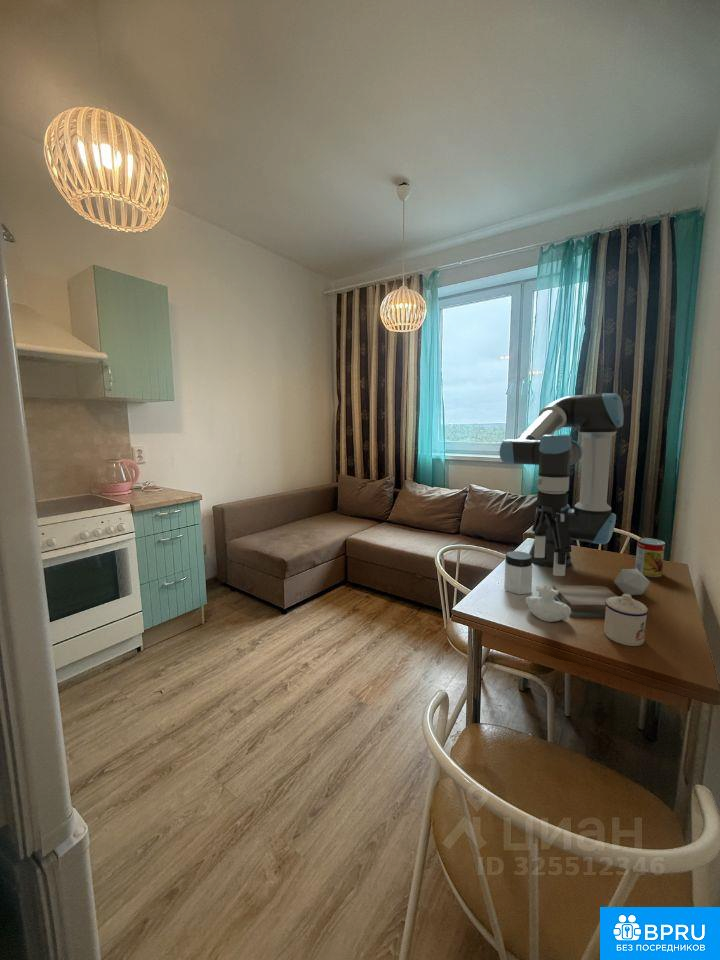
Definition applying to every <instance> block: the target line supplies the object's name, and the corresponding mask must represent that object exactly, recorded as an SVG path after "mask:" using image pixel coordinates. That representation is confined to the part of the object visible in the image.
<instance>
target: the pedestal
mask: <svg viewBox="0 0 720 960" xmlns="http://www.w3.org/2000/svg"><path fill="white" fill-rule="evenodd" d="M552 589H554V590H558V591H559V593H558V595H555V596H554V599H555V600H554V601H557V602H561V603H564V604H566V605H567V606H569V607H570V609H571V614H570V615H569V617H570V618H571V617H572V618H573V617H575V618H605V613H606V604H605V602H606V600H607V599H608V598H610V597H619V596H618V594H615V593H614V591H612V590H611V589H609V588H608V587H606V586H605V585H554V584H553V586H552Z"/></svg>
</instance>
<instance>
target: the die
mask: <svg viewBox="0 0 720 960" xmlns="http://www.w3.org/2000/svg"><path fill="white" fill-rule="evenodd" d="M613 583H614V584H615V585H616V586H617V587H618V588H619V589H620V591H621V592H622V593H623V594H629V595H631V596H640V595H641V596H642V595H643V594H644V592H645V590H646V589H647V587H648V586H649V585H650V580H649V579H648V577H647V576H644V575H643V574H642V573H641V572H640V571H639V570H638V569H635V568H622V569H620V571H619V573H618V575H617V576H616V577H615V580H614V581H613Z"/></svg>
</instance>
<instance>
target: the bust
mask: <svg viewBox="0 0 720 960" xmlns="http://www.w3.org/2000/svg"><path fill="white" fill-rule="evenodd" d="M535 588H536V591H537V592H538V595H537V596H534V595H530V596H527V597H526V598H525V599H524V600H525V603H526V606H528V609H529V610H530V611H531V612H532V614H533V616H535V617H536V618H538V619H539V620H542V621H544V622H549V623H552V622H560V621H565V620H568V619H569V617H570V616H569V615H570V614H571V609H570V607H569V606H567V605H566V604H564V603H561V602H557V601H555V599H554V596H555V595H558V593H559V591H558V590H554V589H553V588H552V587H551V586H549V585H548V586H546V585H544V586H539V585H537V586H536V587H535Z"/></svg>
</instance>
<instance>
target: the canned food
mask: <svg viewBox="0 0 720 960" xmlns="http://www.w3.org/2000/svg"><path fill="white" fill-rule="evenodd" d="M665 547H666V542H665V541H664V540H661V539H657V538H650V537H640V538H638V539H637V544H636V555H635V556H636V557H635V566H634V567H635V568H634V569H638V570H639V571H640V572H641V573H642V574H643V575H644V576H645V577H648V578H660V577H662V576H663V566H664V558H665Z"/></svg>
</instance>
